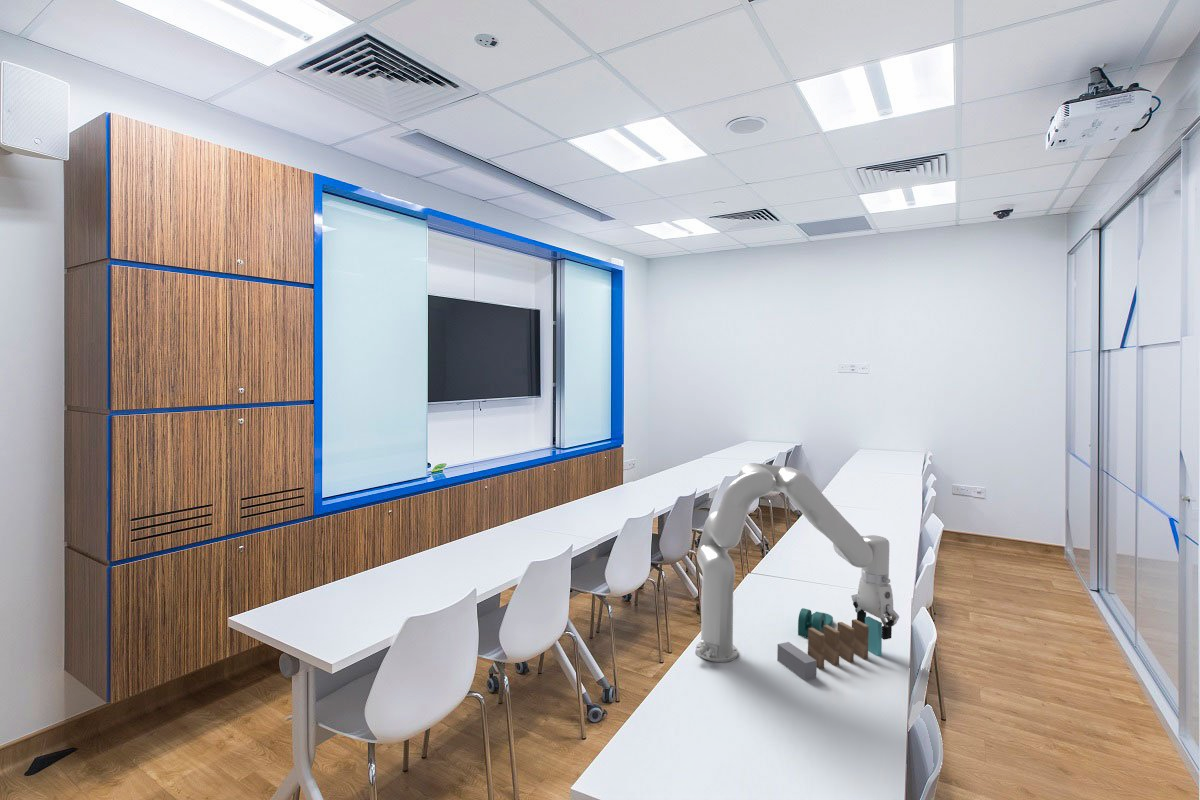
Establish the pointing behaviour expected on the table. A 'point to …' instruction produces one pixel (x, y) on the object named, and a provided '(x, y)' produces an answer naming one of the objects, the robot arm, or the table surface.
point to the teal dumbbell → (812, 621)
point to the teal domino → (874, 636)
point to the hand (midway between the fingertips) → (873, 631)
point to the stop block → (797, 661)
